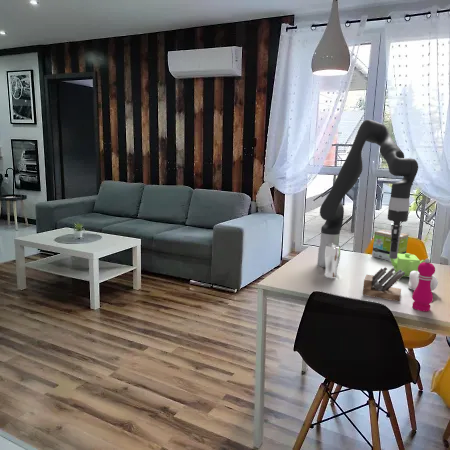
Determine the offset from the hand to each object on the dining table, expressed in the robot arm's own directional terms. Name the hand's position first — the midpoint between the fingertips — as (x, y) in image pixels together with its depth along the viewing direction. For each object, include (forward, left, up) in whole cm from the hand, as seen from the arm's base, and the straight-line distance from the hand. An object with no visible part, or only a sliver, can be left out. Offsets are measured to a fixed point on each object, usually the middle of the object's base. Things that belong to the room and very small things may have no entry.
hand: (393, 250), depth 170 cm
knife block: (-3, 0, -20) cm, 20 cm away
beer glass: (-27, +13, -20) cm, 36 cm away
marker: (0, 0, -3) cm, 3 cm away
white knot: (+11, +14, -20) cm, 27 cm away
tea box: (-5, +63, -20) cm, 66 cm away
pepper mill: (+12, -8, -20) cm, 25 cm away
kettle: (+4, +33, -20) cm, 39 cm away
